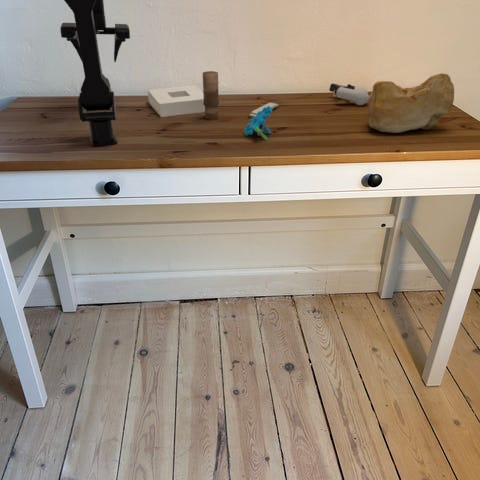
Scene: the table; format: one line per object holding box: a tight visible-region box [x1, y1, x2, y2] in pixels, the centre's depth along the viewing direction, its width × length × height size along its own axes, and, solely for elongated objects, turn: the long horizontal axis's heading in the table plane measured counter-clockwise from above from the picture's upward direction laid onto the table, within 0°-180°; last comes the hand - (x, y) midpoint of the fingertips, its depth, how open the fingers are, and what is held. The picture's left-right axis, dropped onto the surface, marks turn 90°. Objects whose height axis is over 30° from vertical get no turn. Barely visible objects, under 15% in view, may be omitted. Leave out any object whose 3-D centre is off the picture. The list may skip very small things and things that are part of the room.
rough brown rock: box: [367, 73, 455, 134], centre depth 132 cm, size 23×17×15 cm
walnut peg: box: [202, 70, 220, 121], centre depth 136 cm, size 5×5×13 cm
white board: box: [147, 84, 205, 118], centre depth 148 cm, size 16×16×4 cm
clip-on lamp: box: [329, 83, 372, 106], centre depth 153 cm, size 12×6×18 cm
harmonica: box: [247, 102, 280, 120], centre depth 144 cm, size 15×3×2 cm, turn 148°
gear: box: [243, 106, 273, 141], centre depth 127 cm, size 11×6×10 cm
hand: (99, 61), depth 138 cm, fingers open, 9 cm apart
